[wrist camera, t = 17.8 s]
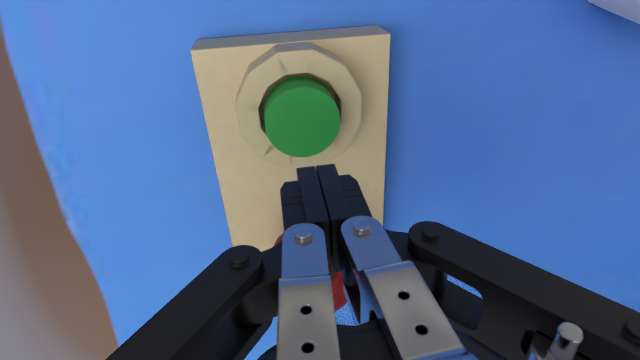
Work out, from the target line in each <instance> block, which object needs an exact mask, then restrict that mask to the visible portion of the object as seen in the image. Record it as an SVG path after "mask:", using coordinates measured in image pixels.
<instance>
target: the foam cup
mask: <svg viewBox="0 0 640 360" xmlns="http://www.w3.org/2000/svg"><path fill="white" fill-rule="evenodd" d="M588 2H589V3H592V4H595V6H598V7H600V8H603V9H605V10H607V11H610V12H612V13H614V14H617V15H619V16H621V17H624V18H626V19H628V20H631V21H633V22H635V23H638V24H640V0H588Z"/></svg>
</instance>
